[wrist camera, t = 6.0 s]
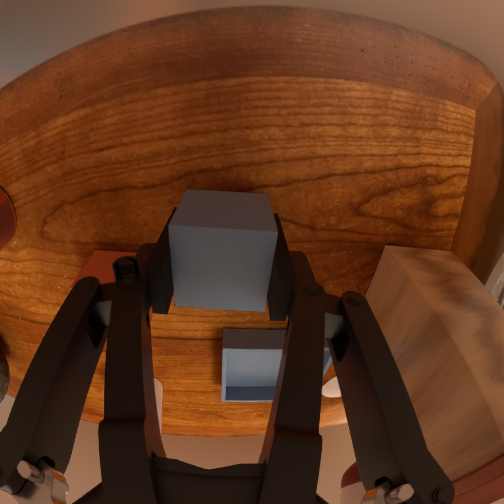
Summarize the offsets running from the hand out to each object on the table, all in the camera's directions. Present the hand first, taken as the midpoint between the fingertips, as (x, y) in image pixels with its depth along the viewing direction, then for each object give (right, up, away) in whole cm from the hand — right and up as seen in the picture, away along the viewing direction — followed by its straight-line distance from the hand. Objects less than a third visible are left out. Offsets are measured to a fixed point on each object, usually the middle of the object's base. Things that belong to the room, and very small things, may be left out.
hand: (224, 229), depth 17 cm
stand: (+17, -5, +6) cm, 19 cm away
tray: (+4, -13, +11) cm, 18 cm away
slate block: (0, 0, 0) cm, 0 cm away
